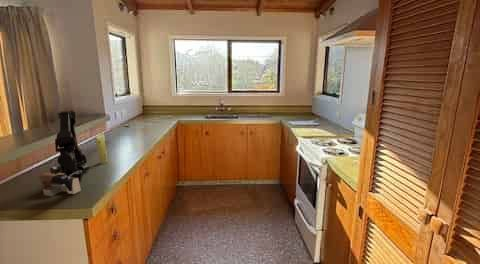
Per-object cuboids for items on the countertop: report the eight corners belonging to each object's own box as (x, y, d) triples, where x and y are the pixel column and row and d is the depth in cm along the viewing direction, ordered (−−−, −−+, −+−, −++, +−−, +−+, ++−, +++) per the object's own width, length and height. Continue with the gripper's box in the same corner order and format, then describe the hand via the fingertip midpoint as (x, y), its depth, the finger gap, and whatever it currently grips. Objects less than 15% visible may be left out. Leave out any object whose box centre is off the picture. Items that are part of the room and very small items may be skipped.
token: (53, 190, 138) (52, 185, 137) (60, 191, 136) (59, 186, 136) (44, 195, 133) (43, 189, 132) (51, 196, 132) (50, 190, 131)
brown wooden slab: (63, 180, 151) (60, 166, 149) (82, 180, 150) (79, 166, 148) (42, 190, 138) (39, 175, 136) (62, 191, 136) (59, 176, 134)
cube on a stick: (57, 187, 141) (54, 175, 139) (80, 190, 136) (78, 177, 134) (49, 190, 137) (46, 178, 135) (74, 194, 132) (71, 181, 131)
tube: (107, 163, 178) (103, 135, 174) (99, 164, 176) (94, 136, 172) (108, 160, 183) (104, 133, 179) (99, 161, 181) (95, 134, 177)
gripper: (68, 154, 141) (73, 181, 144) (37, 166, 123) (44, 196, 126) (87, 154, 139) (92, 181, 143) (59, 166, 121) (65, 197, 125)
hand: (74, 189), depth 134 cm, fingers closed on cube on a stick, 4 cm apart
